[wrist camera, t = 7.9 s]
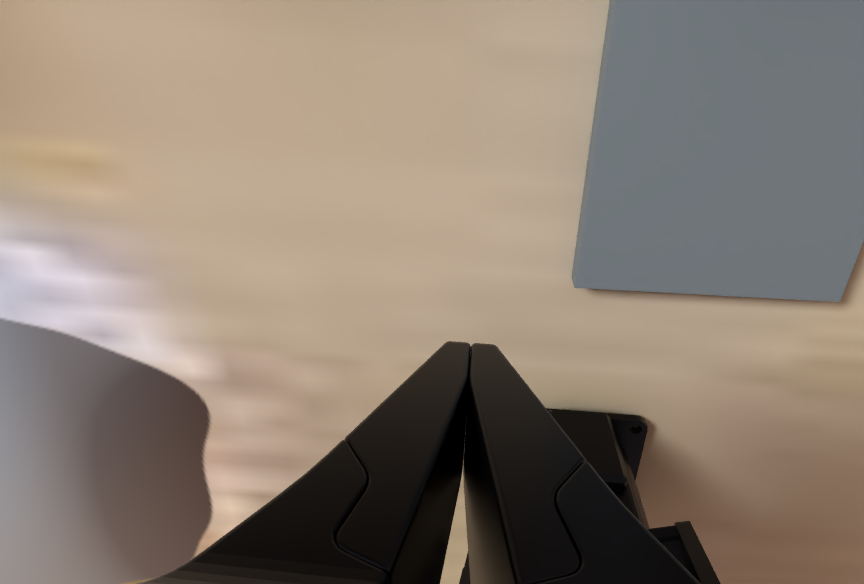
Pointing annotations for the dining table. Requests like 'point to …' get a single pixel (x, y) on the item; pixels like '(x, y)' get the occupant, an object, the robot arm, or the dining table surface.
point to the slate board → (726, 150)
